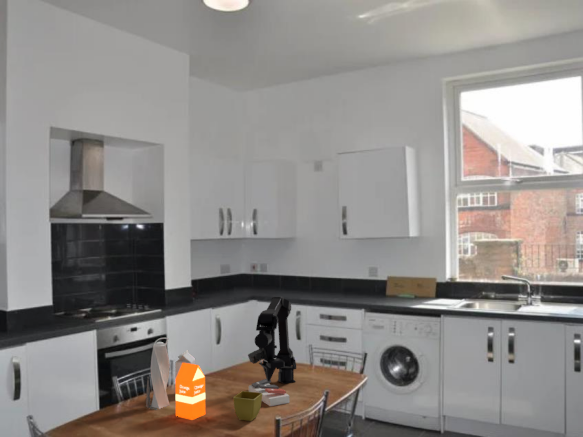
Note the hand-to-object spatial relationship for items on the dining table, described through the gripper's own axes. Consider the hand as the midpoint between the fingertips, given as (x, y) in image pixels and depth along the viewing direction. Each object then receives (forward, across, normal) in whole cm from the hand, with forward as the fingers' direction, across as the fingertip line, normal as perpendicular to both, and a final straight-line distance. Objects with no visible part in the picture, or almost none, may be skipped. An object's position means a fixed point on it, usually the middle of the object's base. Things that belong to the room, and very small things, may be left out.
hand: (268, 380), depth 221 cm
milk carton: (+10, -29, -27) cm, 41 cm away
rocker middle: (+5, -7, +3) cm, 9 cm away
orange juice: (+10, -2, -33) cm, 34 cm away
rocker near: (+5, -14, +3) cm, 15 cm away
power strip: (+9, -10, +3) cm, 14 cm away
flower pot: (+10, +13, -15) cm, 22 cm away
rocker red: (+5, 0, +3) cm, 6 cm away
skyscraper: (+10, -19, -41) cm, 46 cm away
